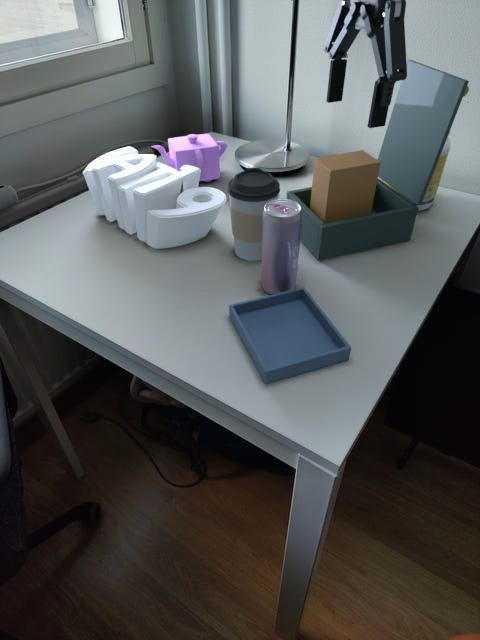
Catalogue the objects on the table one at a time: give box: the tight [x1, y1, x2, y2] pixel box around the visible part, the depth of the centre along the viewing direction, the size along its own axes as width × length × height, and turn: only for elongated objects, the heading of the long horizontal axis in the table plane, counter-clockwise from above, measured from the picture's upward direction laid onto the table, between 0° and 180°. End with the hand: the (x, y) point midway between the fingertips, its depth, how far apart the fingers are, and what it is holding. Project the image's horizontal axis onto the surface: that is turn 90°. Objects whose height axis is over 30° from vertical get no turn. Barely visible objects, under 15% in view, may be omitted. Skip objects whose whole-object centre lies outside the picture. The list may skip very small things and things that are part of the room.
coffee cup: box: [227, 167, 281, 262], centre depth 83 cm, size 9×9×15 cm
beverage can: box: [260, 198, 302, 295], centre depth 74 cm, size 6×6×15 cm
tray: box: [228, 286, 352, 385], centre depth 69 cm, size 15×13×2 cm
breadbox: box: [285, 178, 419, 262], centre depth 91 cm, size 20×15×7 cm
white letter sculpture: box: [82, 146, 227, 250], centre depth 95 cm, size 35×16×10 cm, turn 42°
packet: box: [310, 149, 381, 224], centre depth 87 cm, size 6×10×14 cm, turn 110°
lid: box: [377, 59, 470, 205], centre depth 85 cm, size 21×15×6 cm
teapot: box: [150, 133, 228, 183], centre depth 109 cm, size 18×14×10 cm
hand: (353, 113), depth 77 cm, fingers open, 13 cm apart
